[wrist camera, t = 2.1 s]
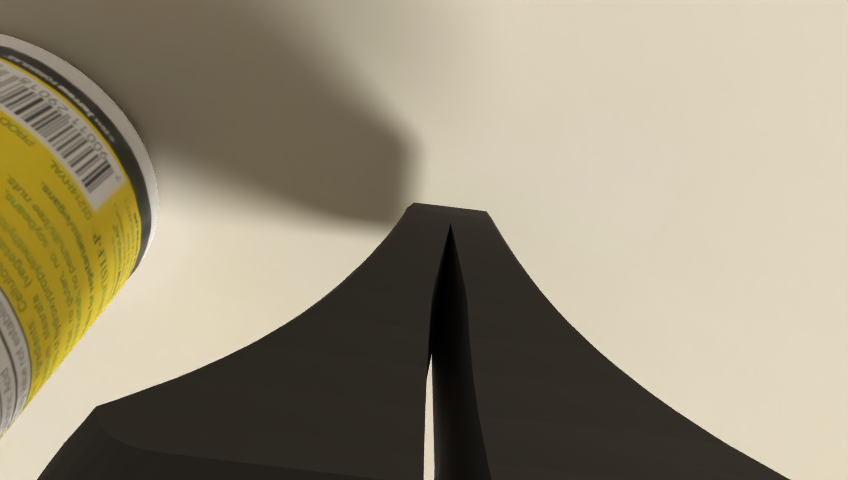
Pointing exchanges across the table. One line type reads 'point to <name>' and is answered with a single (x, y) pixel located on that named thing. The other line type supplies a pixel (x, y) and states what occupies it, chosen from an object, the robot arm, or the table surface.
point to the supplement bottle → (62, 213)
